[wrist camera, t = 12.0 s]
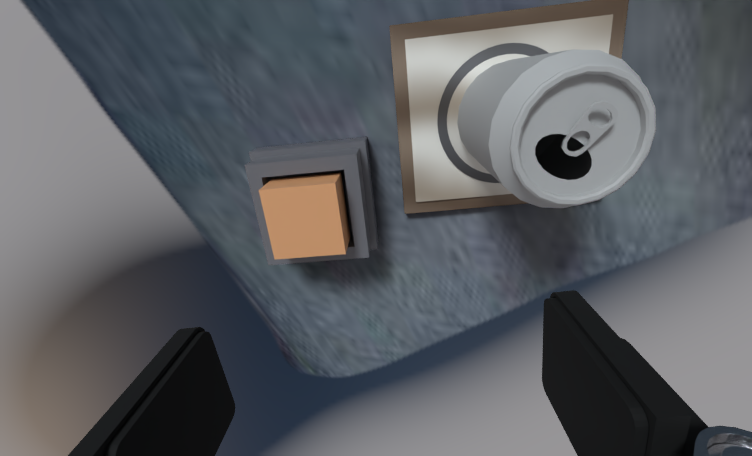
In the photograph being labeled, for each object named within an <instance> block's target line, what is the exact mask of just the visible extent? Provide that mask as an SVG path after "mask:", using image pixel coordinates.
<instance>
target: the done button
mask: <svg viewBox="0 0 752 456" xmlns="http://www.w3.org/2000/svg"><path fill="white" fill-rule="evenodd" d="M259 194H260V198H261V203H262V207H263V211H264V216H265V220H266V225H267V229H268V233H269V238H270V242H271V246H272V251H273V255H274V259H275V260H276V259H289V258H301V257H314V256H327V255H340V254H346V251H347V248H348V244H349V240H350V232H349V225H348V218H347V211H346V204H345V197H344V190H343V183H342V176H341V172H340V173H330V174H319V175H309V176H298V177H288V178H277V179H272V180H270V181H269V182H268V183H267V184H265V185H264V186H263V187H262V188H261V189H259Z"/></svg>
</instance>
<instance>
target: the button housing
mask: <svg viewBox="0 0 752 456" xmlns="http://www.w3.org/2000/svg"><path fill="white" fill-rule="evenodd" d="M249 155H250V159H251V162H249V163H247V164H246V165H245V169H246V173H247V177H248V182H249V186H250V190H251V194H252V198H253V203H254V207H255V211H256V215H257V219H258V223H259V228H260V232H261V236H262V240H263V244H264V249H265V253H266V257H267V261H268V265H279V264H292V263H305V262H319V261H332V260H345V259H358V258H369V256H370V250H374V249H378V231H377V222H376V213H375V204H374V195H373V187H372V178H371V169H370V160H369V151H368V142H367V137H359V138H349V139H339V140H329V141H319V142H310V143H300V144H290V145H280V146H270V147H261V148H256V149H254V150H252V151H250V152H249ZM340 172H341V176H342V183H343V190H344V197H345V204H346V211H347V218H348V225H349V232H350V240H349V244H348V248H347V251H346V254H340V255H327V256H314V257H301V258H289V259H276V260H275V259H274V255H273V251H272V246H271V242H270V238H269V233H268V229H267V225H266V220H265V216H264V211H263V207H262V203H261V198H260V194H259V189H261V188H262V187H263V186H264V185H265V184H267V183H268V182H269V181H270V180H272V179H277V178H288V177H298V176H309V175H319V174H330V173H340Z"/></svg>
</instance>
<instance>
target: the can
mask: <svg viewBox="0 0 752 456" xmlns="http://www.w3.org/2000/svg"><path fill="white" fill-rule="evenodd" d="M457 125H458V129H459V134H460V139H461V141H462V142H463V144H464V146H465V148H466V149H467V151H468V153H469V154H471V155H472V156H473V157H474V158H475V159H476V160H477V161H478V162H479V163H480V164H481V165H482V166H483V167H484V168H485V169H486V170H487V171H488V172H489V173H490V174H491V175H492V176H493V177H494V178H495V179H496V180H498V181H499V182H500V183H501V184H502V185H503V186H504V187H505V188H506V189H507V190H509V191H510V192H511V193H512V194H513V195H515V196H516V197H517V198H518V199H520V200H522V201H524V202H527V203H530V204H533V205H535V206H538V207H543V208H566V207H570V206H578V205H582V204H586V203H590V202H594V201H598V200H600V199H602V198H604V197H605V196H607V195H609V194H611V193H613V192H615V191H616V190H618V189H620V188H621V187H622V186H623V185H624V184H625V183H626V182H627V181H628V180H629V179H630V178H631V177H632V176H633V175H635V174H636V173H637V171H638V169H639V168H640V166H641V165H642V163H643V162H644V160H645V158H646V157H647V155H648V154H649V152H650V148H651V145H652V142H653V138H654V135H655V132H656V113H655V106H654V103H653V101H652V98H651V96H650V93H649V91H648V88H647V87H646V86H645V85H644V84H643V83H642V81H641V79H640V77H639V76H638V75H637V74H636V73H635V72H634V71H633V70H632V69H631V68H630V67H629V66H628V65H627V64H626V63H625V62H624V61H623V60H622V59H620V58H617V57H615V56H613V55H610V54H608V53H605V52H603V51H600V50H575V49H572V50H566V51H560V52H554V53H548V54H542V55H536V56H530V57H524V58H518V59H512V60H508V61H505V62H501V63H498V64H495V65H492V66H491V67H489V68H488V69H487V70H485V71H484V72H482V73H481V74H479V75H478V76H477V77H476V78H475V79H474V81H473V82H472V83H471V84H470V86H469V87H468V88H467V89H466V91H465V94H464V96H463V98H462V101H461V103H460V105H459V112H458V122H457Z"/></svg>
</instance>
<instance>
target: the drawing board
mask: <svg viewBox="0 0 752 456" xmlns="http://www.w3.org/2000/svg"><path fill="white" fill-rule="evenodd" d="M628 2H629V0H591V1H583V2H575V3H567V4H559V5H551V6H543V7H535V8H527V9H519V10H511V11H503V12H495V13H487V14H479V15H471V16H463V17H455V18H447V19H439V20H431V21H423V22H415V23H407V24H399V25H391V26H389V27H390V39H391V51H392V64H393V76H394V88H395V101H396V113H397V125H398V137H399V150H400V162H401V174H402V187H403V199H404V211H405V214H408V213H420V212H432V211H444V210H456V209H467V208H479V207H491V206H503V205H515V204H526V203H527V202H524V201H522V200H520V199H518V198H517V197H516V196H515V195H513V194H512V193H511V192H510V191H509V190H507V189H506V188H505V187H504V186H503V185H502V184H501V183H500V182H499V181H498V180H496V179H495V178H494V177H493V176H492V175H491V174H490V173H489V172H488V171H487V170H486V169H485V168H484V167H483V166H482V165H481V164H480V163H479V162H478V161H477V160H476V159H475V158H474V157H473V156H472V155H471V154H469V153H468V151H467V149H466V148H465V146H464V144H463V142H462V141H461V139H460V134H459V129H458V125H457V122H458V112H459V105H460V103H461V101H462V98H463V96H464V94H465V91H466V89H467V88H468V87H469V86H470V84H471V83H472V82H473V81H474V79H475V78H476V77H477V76H478V75H479V74H481V73H482V72H484V71H485V70H487V69H488V68H489V67H491V66H492V65H495V64H498V63H501V62H505V61H508V60H512V59H518V58H524V57H530V56H536V55H542V54H548V53H554V52H560V51H566V50H572V49H575V50H600V51H603V52H605V53H608V54H610V55H613V56H615V57H617V58H620V59H621V57H622V49H623V42H624V34H625V26H626V18H627V10H628Z"/></svg>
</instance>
